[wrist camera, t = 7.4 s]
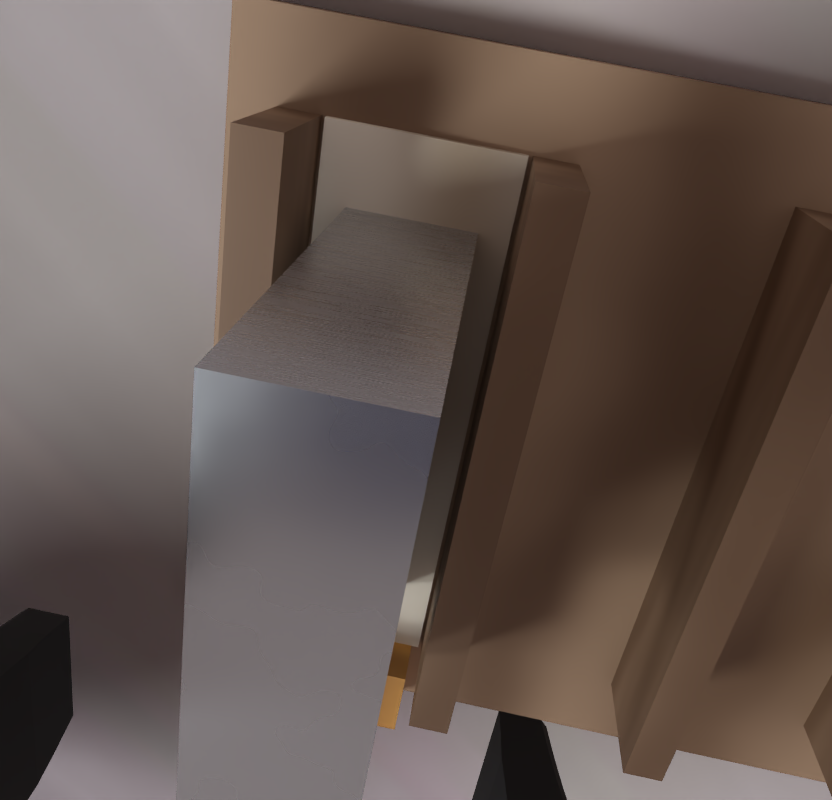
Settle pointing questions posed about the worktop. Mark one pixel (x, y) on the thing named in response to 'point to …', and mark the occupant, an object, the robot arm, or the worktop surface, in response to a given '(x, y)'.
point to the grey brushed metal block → (312, 507)
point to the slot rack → (582, 371)
